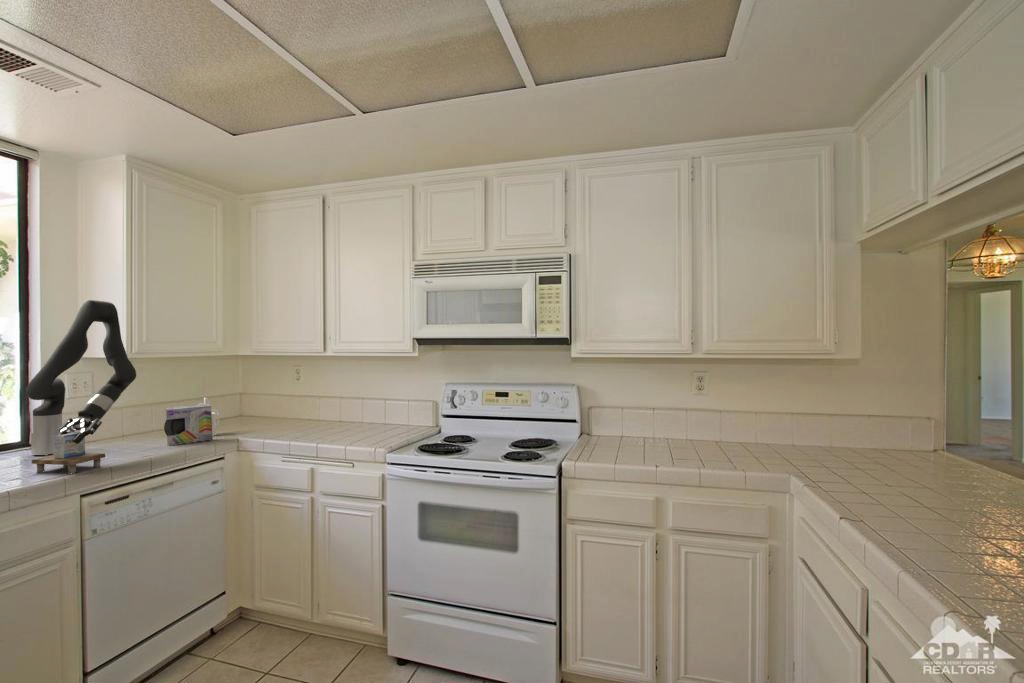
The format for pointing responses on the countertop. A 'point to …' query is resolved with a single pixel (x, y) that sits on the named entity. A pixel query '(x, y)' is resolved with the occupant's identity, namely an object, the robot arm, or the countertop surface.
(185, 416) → the cake pan box
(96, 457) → the walnut shelf
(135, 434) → the countertop surface
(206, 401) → the white french press
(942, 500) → the countertop surface
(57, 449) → the medicine box
